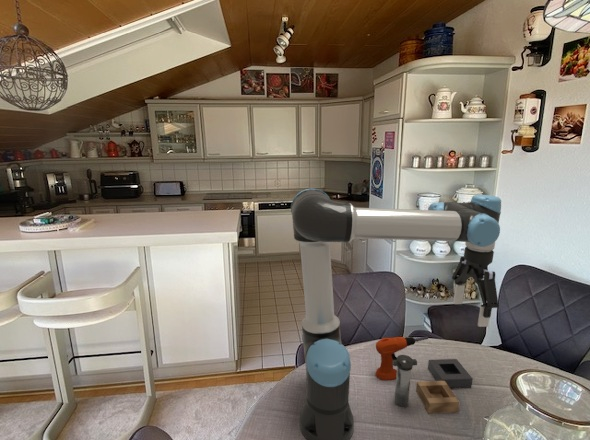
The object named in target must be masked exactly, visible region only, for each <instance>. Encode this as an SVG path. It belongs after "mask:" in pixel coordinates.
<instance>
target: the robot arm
mask: <svg viewBox="0 0 590 440" xmlns="http://www.w3.org/2000/svg"><path fill="white" fill-rule="evenodd" d="M501 209H502V200H501V198H500V197H499V196H495V195H490V194H474V195H473V196H471V199H470V201H469V202H453V201H451V202H446V201H441V202H432V203H430V205H429V206H428V208H427V209H406V208H405V209H404V208H378V207H377V208H376V207H355V206H354V205H353V204H352V203H350V202H349V203H348V202H339V201H334V200H331V198H330V196H329V195H328V194H327V193H326V192H324V191H323V190H321V189H317V188H307V189H303V190H301V191H299V192H298V193H297V194H296V195H295V196H294V198H293V199H292V201H291V204H290V213H291V216H292V217H291V219H292V229H293V239H294V240H295V242H297V243H298V244H299V247H300V248H299V249H300V258H301V259H300V260H301V270H302V271H301V273H302V284H303V293H304V294H303V295H304V308H305V317H304V318H303V319H302V321H301V331H302V338H301V339H302V344H303V352H304V353H303V354H304V361H305V362H304V363H305V373H306V374H305V375H306V377H305V378H306V389H305V390H306V392H305V393H306V394H305V397H306V398H305V400H304V404H303V406H302V408H301V410H300V414H299V428H300V431H301V434H302V435H303V436H304V438H305V439H306V440H350V439H351V438H352V436H353V433H354V428H355V427H354V426H355V419H354V414H353V413H352V409H351V406H350V403H349V397H350V381H351V380H350V378H351V377H350V375H351V370H352V369H351V367H352V362H351V356H350V353H349V350H348V349H347V347H346V346H345V345H344V344H343V343H342V338H341V322H340V318H339V317H338V316H336V314H335V307H334V306H335V303H334V292H333V291H334V290H333V289H334V288H333V274H332V273H333V272H332V257H331V256H332V255H331V243H351V242H352V241H353V240H356V239H360V240H361V239H363V240H392V241H393V240H397V241H399V240H400V241H429V242H430V241H433V242H438V241H439V242H460V243H462V242H464V243H465V247H464V251H463V256H462V255H461V256H460V259H459V263H458V265H457V266H456V268H455V269H454V273H453V274H452V276H451V279H452V280H453V281H454V284H455V286H454V287H455V288H454V295H453V301H452V302H453V304H454V305H463V303H464V297H465V289H466V282H467V281H468V280H469V279H470V278H472V279H473V280H474V283H475V284H477V287H478V291H479V294H480V299H481V302H482V304H480V305H479V306H480V308H479V313H478V320H477V327H480V328H482V327H488V328H489V323H490V319H491V315H492V310H493V309H498V308H499V307H500V306H499V301H498V293H497V292H498V291H497V286H496V285H497V284H496V272H495V271H491V270H489V267H488V266H489V265H491V264H492V263H493V262H494V261H493V259H494V254H495V251H494V249H495V246H496V241H497V240H498V239H499V236H500V233H501V227H500V223H499V222H500V216H501V213H502V212H501Z"/></svg>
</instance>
